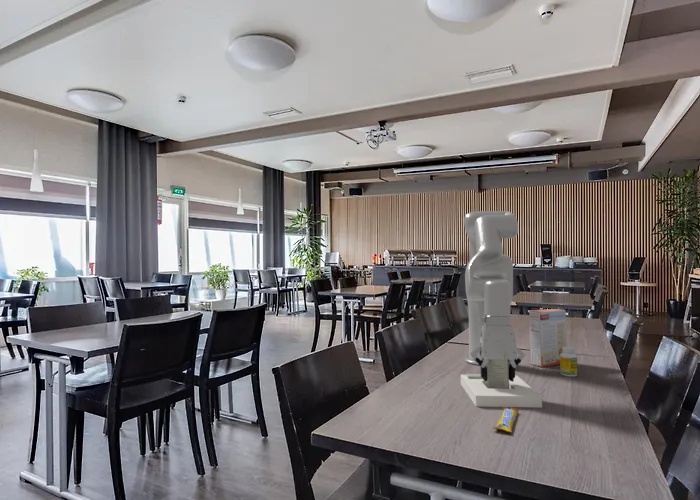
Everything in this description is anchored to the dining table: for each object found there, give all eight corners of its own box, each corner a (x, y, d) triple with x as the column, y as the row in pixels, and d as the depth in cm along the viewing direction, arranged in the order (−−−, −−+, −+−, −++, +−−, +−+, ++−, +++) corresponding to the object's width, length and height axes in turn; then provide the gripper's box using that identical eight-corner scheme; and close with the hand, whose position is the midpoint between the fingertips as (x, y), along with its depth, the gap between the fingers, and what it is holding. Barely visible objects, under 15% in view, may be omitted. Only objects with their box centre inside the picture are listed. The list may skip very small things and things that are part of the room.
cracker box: (554, 360, 178) (553, 308, 178) (567, 363, 173) (566, 309, 173) (528, 364, 172) (528, 310, 172) (541, 367, 167) (541, 311, 167)
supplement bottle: (565, 372, 160) (565, 345, 160) (580, 375, 156) (580, 348, 156) (557, 374, 157) (556, 347, 157) (571, 377, 153) (571, 349, 153)
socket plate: (460, 383, 146) (460, 372, 146) (516, 384, 145) (516, 373, 145) (475, 406, 124) (475, 393, 124) (542, 407, 123) (541, 394, 123)
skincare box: (509, 388, 135) (509, 348, 135) (508, 392, 131) (507, 351, 131) (487, 386, 138) (487, 346, 138) (485, 389, 133) (485, 349, 134)
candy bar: (503, 412, 121) (503, 405, 121) (519, 414, 119) (519, 407, 119) (492, 433, 106) (492, 426, 106) (511, 437, 104) (511, 429, 104)
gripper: (470, 322, 131) (471, 383, 131) (531, 323, 130) (531, 384, 130) (465, 319, 139) (466, 376, 139) (522, 319, 138) (523, 377, 138)
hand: (497, 379), depth 134 cm, fingers closed on skincare box, 7 cm apart
